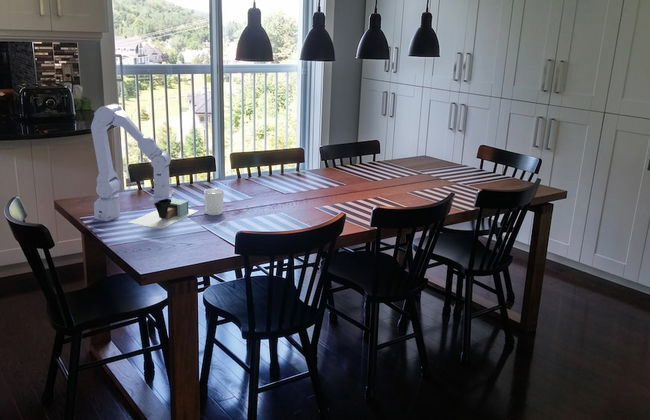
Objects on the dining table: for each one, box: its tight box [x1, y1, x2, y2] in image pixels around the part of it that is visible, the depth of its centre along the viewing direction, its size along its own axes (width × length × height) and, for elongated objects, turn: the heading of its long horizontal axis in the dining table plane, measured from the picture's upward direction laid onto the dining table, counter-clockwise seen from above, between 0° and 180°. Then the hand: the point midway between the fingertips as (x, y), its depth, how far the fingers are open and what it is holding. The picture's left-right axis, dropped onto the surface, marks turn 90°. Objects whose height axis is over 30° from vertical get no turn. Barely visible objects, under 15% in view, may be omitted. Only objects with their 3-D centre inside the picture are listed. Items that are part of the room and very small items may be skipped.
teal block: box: [169, 197, 189, 217], centre depth 242 cm, size 6×7×5 cm
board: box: [127, 208, 199, 230], centre depth 239 cm, size 26×15×1 cm, turn 160°
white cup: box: [203, 187, 225, 216], centre depth 246 cm, size 8×8×10 cm
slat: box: [162, 205, 178, 220], centre depth 240 cm, size 10×3×4 cm, turn 160°
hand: (162, 217), depth 234 cm, fingers closed
